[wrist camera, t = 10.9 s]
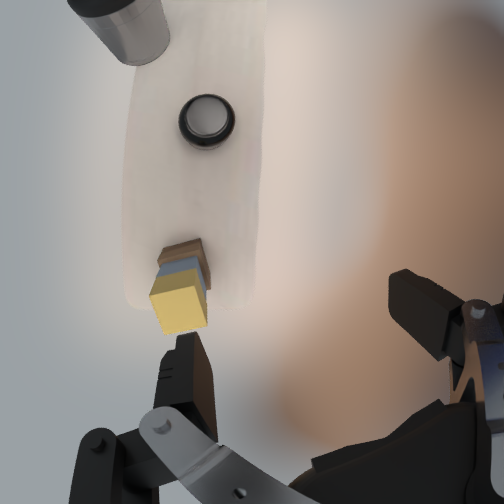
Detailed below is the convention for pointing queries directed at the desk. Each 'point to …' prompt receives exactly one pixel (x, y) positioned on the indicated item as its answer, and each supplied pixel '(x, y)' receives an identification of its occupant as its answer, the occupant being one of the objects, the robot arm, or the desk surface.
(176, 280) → the top block
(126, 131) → the desk surface
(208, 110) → the supplement bottle
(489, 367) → the robot arm
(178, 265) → the tower mid
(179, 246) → the tower base
